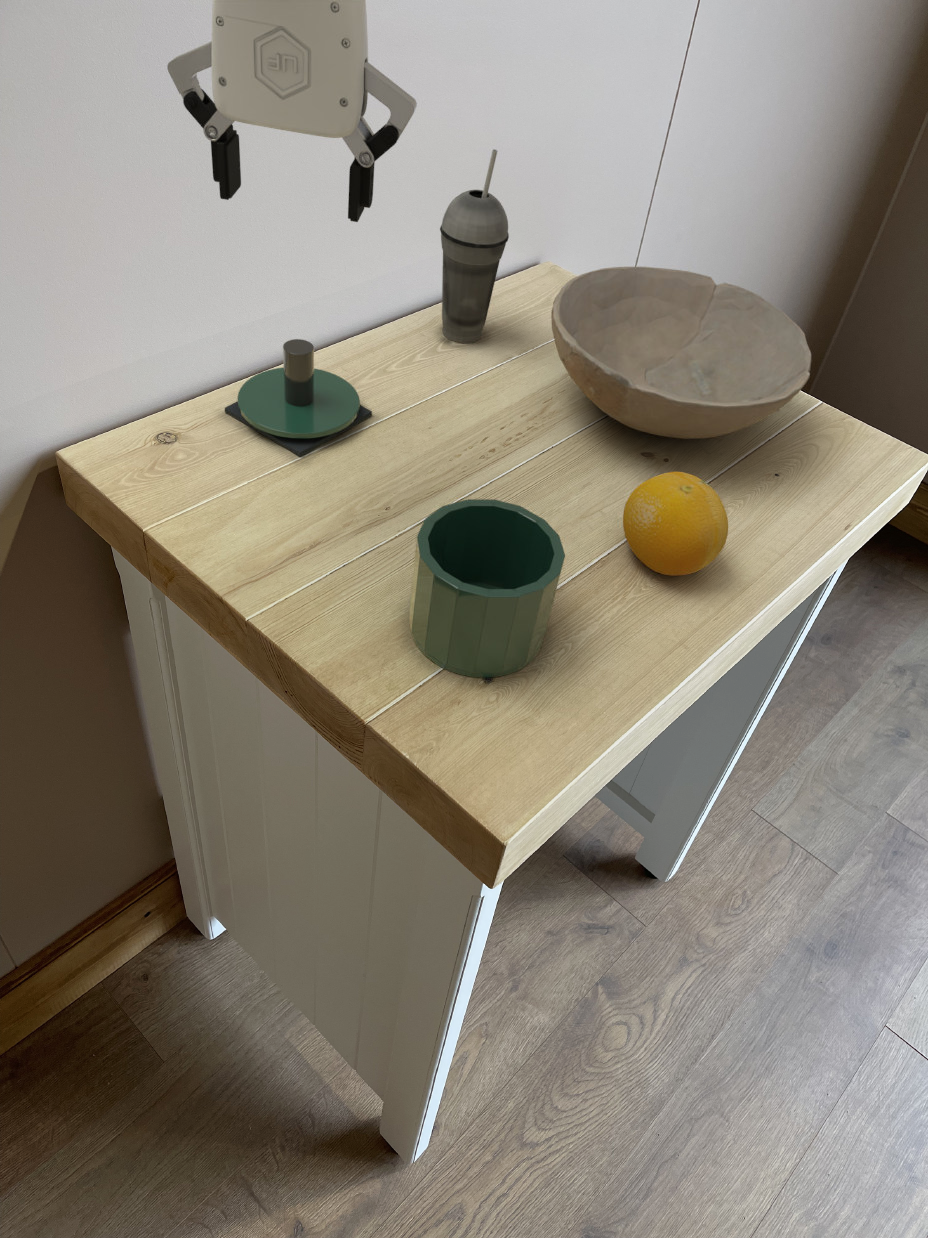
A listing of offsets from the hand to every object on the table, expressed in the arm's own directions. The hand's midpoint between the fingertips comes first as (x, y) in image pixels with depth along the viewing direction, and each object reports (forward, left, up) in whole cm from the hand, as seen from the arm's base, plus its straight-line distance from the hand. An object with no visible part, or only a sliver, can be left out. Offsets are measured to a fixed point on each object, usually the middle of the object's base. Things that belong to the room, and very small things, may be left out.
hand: (293, 203), depth 70 cm
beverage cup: (-3, +29, -23) cm, 37 cm away
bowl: (+21, +32, -23) cm, 45 cm away
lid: (-4, +4, -22) cm, 22 cm away
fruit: (+33, +11, -23) cm, 42 cm away
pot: (+26, -7, -23) cm, 35 cm away
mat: (-4, +4, -23) cm, 23 cm away
